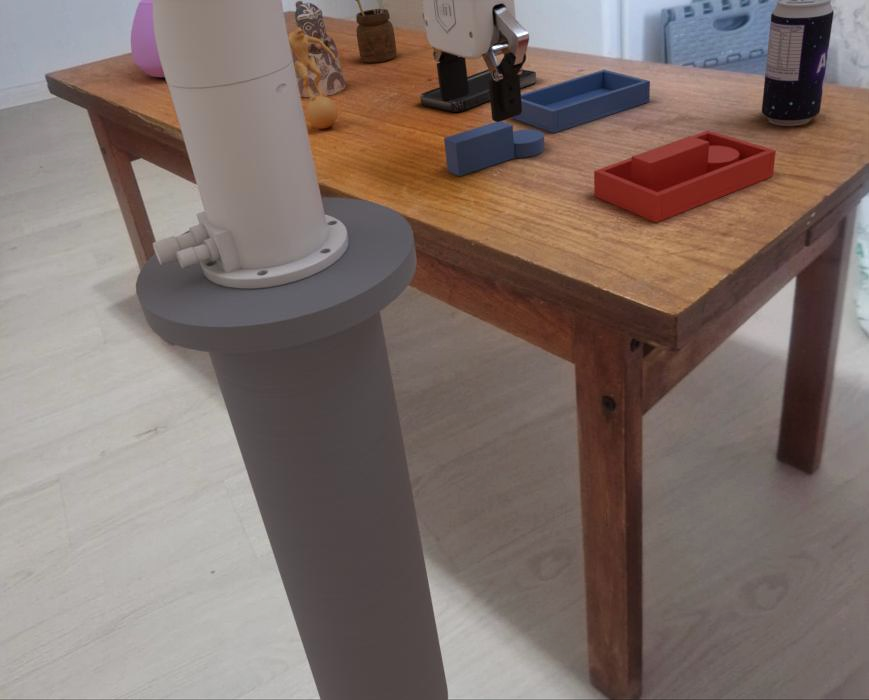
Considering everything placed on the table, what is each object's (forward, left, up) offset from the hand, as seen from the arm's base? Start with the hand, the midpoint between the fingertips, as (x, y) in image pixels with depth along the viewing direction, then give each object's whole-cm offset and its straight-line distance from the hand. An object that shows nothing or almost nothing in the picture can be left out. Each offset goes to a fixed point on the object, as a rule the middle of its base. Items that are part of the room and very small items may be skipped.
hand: (480, 107), depth 84 cm
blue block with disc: (+2, 0, -6) cm, 6 cm away
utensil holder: (+13, +52, -6) cm, 54 cm away
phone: (+13, +22, -6) cm, 26 cm away
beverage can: (+29, -14, -6) cm, 33 cm away
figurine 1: (-1, +43, -6) cm, 43 cm away
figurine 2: (-8, +27, -6) cm, 29 cm away
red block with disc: (+10, -19, -5) cm, 22 cm away
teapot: (-9, +77, -6) cm, 78 cm away
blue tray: (+17, +6, -6) cm, 19 cm away
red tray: (+9, -19, -6) cm, 22 cm away
